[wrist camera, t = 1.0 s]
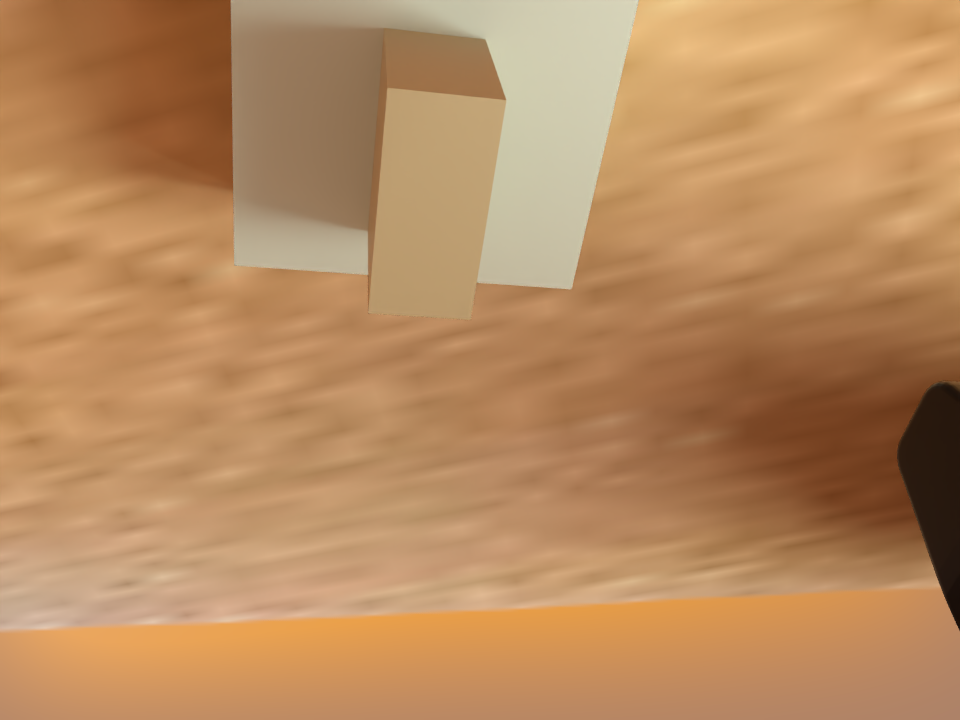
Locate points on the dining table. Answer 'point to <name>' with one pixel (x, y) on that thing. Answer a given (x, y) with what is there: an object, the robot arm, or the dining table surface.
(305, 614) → the dining table surface
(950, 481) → the robot arm
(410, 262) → the square base with post
